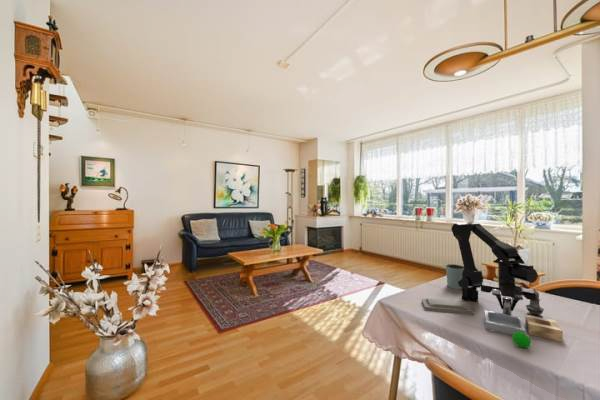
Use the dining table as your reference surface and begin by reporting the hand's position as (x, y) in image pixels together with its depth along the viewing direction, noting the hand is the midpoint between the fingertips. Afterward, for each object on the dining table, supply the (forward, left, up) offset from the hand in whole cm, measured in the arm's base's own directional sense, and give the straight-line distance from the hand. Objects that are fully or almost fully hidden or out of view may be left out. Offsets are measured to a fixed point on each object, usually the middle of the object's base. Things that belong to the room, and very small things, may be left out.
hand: (506, 309), depth 109 cm
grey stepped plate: (-23, -5, -4) cm, 24 cm away
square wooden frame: (+10, -9, -3) cm, 14 cm away
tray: (-2, -12, -3) cm, 12 cm away
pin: (0, 0, -3) cm, 3 cm away
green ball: (+2, -25, -3) cm, 25 cm away
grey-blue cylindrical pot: (-21, +29, -3) cm, 36 cm away
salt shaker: (+10, +7, -3) cm, 13 cm away
